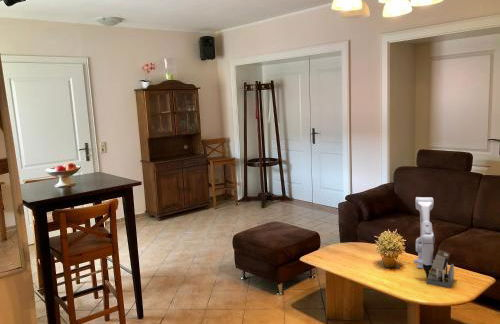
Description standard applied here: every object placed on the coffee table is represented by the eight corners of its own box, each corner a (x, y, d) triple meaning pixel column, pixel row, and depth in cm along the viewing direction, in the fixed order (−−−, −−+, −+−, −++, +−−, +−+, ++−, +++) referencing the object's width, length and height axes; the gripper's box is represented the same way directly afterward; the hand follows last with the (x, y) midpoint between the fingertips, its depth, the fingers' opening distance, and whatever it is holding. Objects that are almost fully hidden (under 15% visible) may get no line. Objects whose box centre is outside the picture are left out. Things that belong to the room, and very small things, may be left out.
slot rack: (430, 275, 237) (430, 259, 236) (453, 279, 231) (453, 263, 229) (426, 283, 227) (426, 267, 225) (450, 288, 220) (450, 271, 219)
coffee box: (438, 284, 226) (448, 258, 221) (427, 278, 229) (436, 253, 224) (441, 277, 233) (450, 253, 229) (430, 272, 236) (438, 248, 232)
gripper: (412, 254, 231) (412, 277, 233) (440, 258, 223) (440, 281, 225) (415, 250, 237) (415, 272, 238) (442, 254, 229) (442, 277, 230)
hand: (427, 277), depth 232 cm, fingers closed
